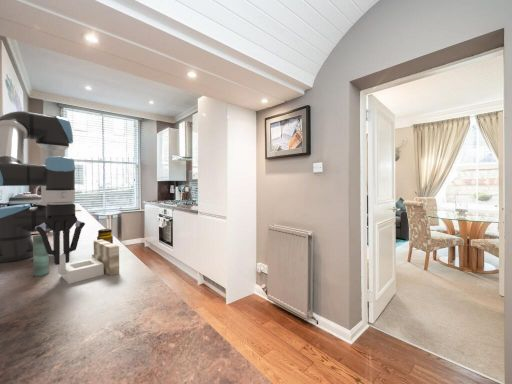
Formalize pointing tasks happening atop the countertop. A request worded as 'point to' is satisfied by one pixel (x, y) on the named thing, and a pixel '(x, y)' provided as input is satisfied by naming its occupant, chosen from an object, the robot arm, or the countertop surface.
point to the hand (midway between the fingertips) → (61, 273)
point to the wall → (107, 256)
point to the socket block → (83, 270)
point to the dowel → (40, 257)
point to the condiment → (104, 236)
